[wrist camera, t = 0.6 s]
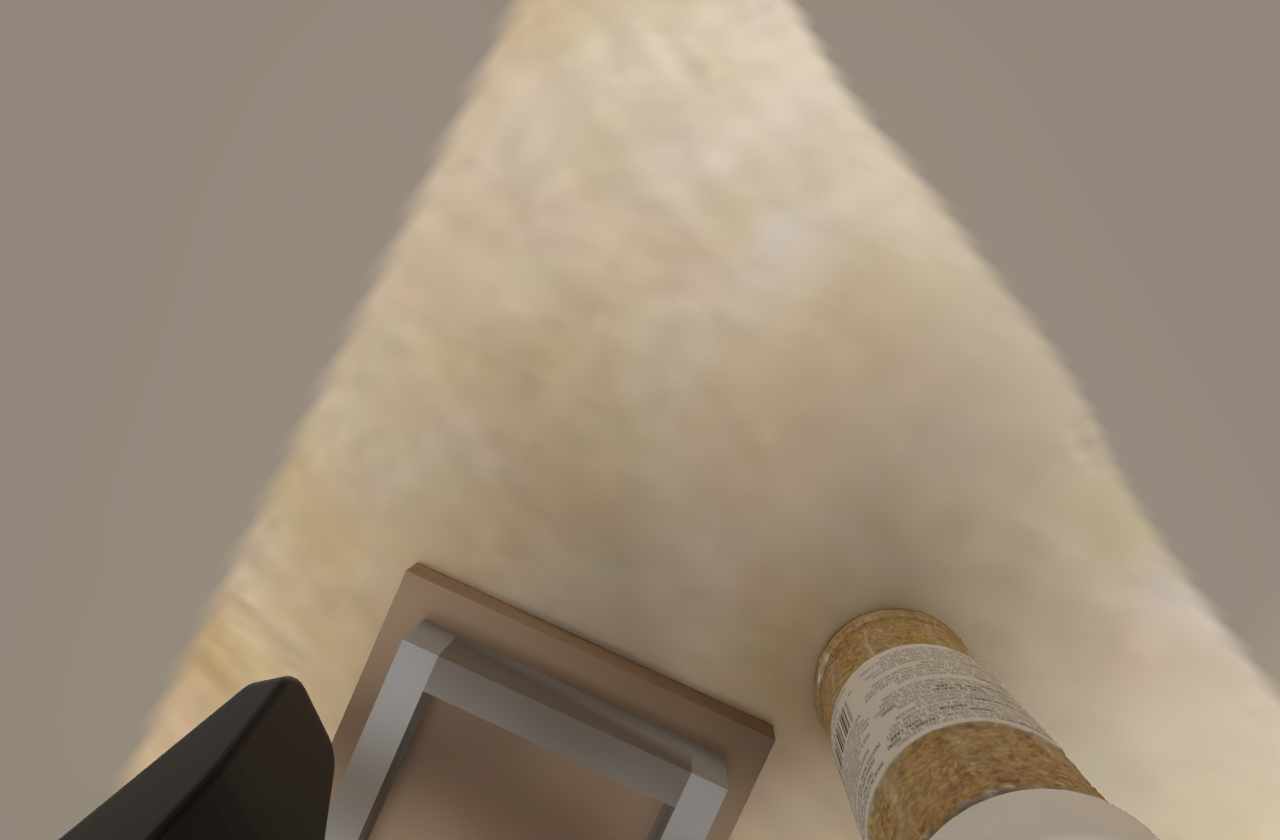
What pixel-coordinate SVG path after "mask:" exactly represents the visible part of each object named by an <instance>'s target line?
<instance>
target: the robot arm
mask: <svg viewBox="0 0 1280 840" xmlns="http://www.w3.org/2000/svg"><path fill="white" fill-rule="evenodd" d="M334 768H335V758H334V751H333V747H332V743H331V741H330V738H329V736H328V734H327V732H326V730H325V728H324V726H323V724H322V722H321V720H320V718H319V716H318V714H317V712H316V710H315V708H314V706H313V704H312V702H311V699H310V697H309V695H308V693H307V691H306V689H305V688H304V686H303V685H302V683H301V682H300V681H299V680H298V679H296V678H294V677H291V676H284V677H279V678H274V679H270V680H265V681H260V682H255V683H252V684H250V685H248V686H246V687H245V688H243V689H242V690H241V691H240V692H238V693H237V694H236V695H235V696H234V697H232V698H231V699H230V700H229V701H227V702H226V703H225V704H224V705H223V706H221V707H220V708H219V709H218V710H216V711H215V712H214V713H213V714H212V715H210V716H209V717H208V718H207V719H205V720H204V721H203V722H202V723H201V724H199V725H198V726H197V727H196V728H194V729H193V730H192V731H191V732H190V733H188V734H187V735H186V736H185V737H183V738H182V739H181V740H180V741H179V742H177V743H176V744H175V745H174V746H173V747H171V748H170V749H169V750H168V751H166V752H165V753H164V754H163V755H162V756H160V757H159V758H158V759H157V760H155V761H154V762H153V763H152V764H151V765H149V766H148V767H147V768H146V769H144V770H143V771H142V772H141V773H140V774H138V775H137V776H136V777H135V778H133V779H132V780H131V781H130V782H129V783H127V784H126V785H125V786H124V787H122V788H121V789H120V790H119V791H118V792H116V793H115V794H114V795H113V796H111V797H110V798H109V799H108V800H107V801H106V802H104V803H103V804H102V805H101V806H99V807H98V808H97V809H96V810H94V811H93V812H92V813H91V814H89V815H88V816H87V817H86V818H85V819H83V820H82V821H81V822H80V823H79V824H77V825H76V826H75V827H74V828H72V829H71V830H70V831H69V832H68V833H66V834H65V835H64V836H63V837H61V838H60V839H59V840H325V834H326V827H327V820H328V813H329V805H330V798H331V791H332V784H333V777H334Z"/></svg>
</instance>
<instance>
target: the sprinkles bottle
mask: <svg viewBox="0 0 1280 840" xmlns="http://www.w3.org/2000/svg"><path fill="white" fill-rule="evenodd" d="M814 682H815V691H814V700H815V706H816V709H817V711H818V715H819V718H820V721H821V724H822V726H823V728H824V729H825V731H826V733H827V734H828V736H829V737H830V738H831V744H832V750H833V754H834V757H835V760H836V764H837V767H838V770H839V772H840V775H841V778H842V781H843V784H844V787H845V790H846V793H847V796H848V799H849V802H850V806H851V809H852V812H853V814H854V817H855V820H856V823H857V826H858V828H859V831H860V834H861V837H862V839H863V840H1159V839H1158V838H1157V837H1156V836H1155V835H1154V834H1153V833H1152V832H1151V831H1150V830H1149V829H1148V828H1147V827H1145V826H1144V825H1143V824H1142V823H1141V822H1139V821H1138V820H1137V819H1136V818H1134V817H1133V816H1131V815H1130V814H1128V813H1127V812H1125V811H1123V810H1122V809H1120V808H1118V807H1116V806H1114V805H1112V804H1110V803H1109V802H1107V801H1106V800H1105V799H1104V797H1103V796H1102V795H1100V794H1099V793H1098V792H1097V790H1096V789H1095V788H1094V787H1092V786H1091V784H1090V783H1089V782H1088V781H1087V780H1086V779H1085V778H1084V777H1083V775H1082V774H1081V773H1080V772H1079V770H1078V769H1077V768H1076V766H1075V765H1074V764H1073V763H1072V762H1071V761H1070V760H1069V759H1068V758H1067V757H1066V755H1065V753H1064V752H1063V750H1062V749H1061V747H1060V746H1059V745H1058V744H1057V743H1056V742H1055V741H1054V740H1053V738H1052V737H1051V736H1050V735H1049V734H1048V733H1047V732H1046V731H1045V730H1044V729H1043V728H1042V727H1041V726H1040V724H1039V723H1038V722H1037V721H1036V720H1035V719H1034V718H1033V717H1032V715H1031V714H1030V713H1029V712H1028V711H1027V710H1026V709H1025V708H1024V707H1023V706H1022V705H1021V704H1020V703H1019V702H1018V701H1017V700H1016V699H1015V698H1014V697H1013V696H1012V695H1011V693H1010V692H1009V691H1008V690H1007V689H1006V688H1005V687H1004V686H1003V685H1002V684H1001V683H1000V682H999V681H998V680H997V679H996V678H995V677H994V676H993V675H992V674H991V673H990V672H989V671H988V670H987V669H986V668H985V667H984V666H982V665H981V664H980V663H978V662H977V661H976V660H974V658H973V656H972V655H971V653H970V652H969V650H968V649H967V647H966V646H965V644H964V643H963V641H962V640H961V639H960V638H959V637H958V636H957V635H956V634H955V633H954V632H953V631H952V630H950V629H949V628H948V627H946V626H945V625H943V624H941V623H940V622H939V621H937V620H935V619H933V618H931V617H930V616H928V615H926V614H924V613H920V612H912V611H907V610H902V609H895V610H879V611H875V612H872V613H869V614H866V615H862V616H859V617H858V618H856V619H855V620H853V621H852V622H850V623H848V624H847V625H845V626H844V627H843V628H842V629H841V630H840V631H839V632H838V633H837V634H836V635H835V636H834V637H833V638H832V639H831V640H830V642H829V644H828V645H827V647H826V648H825V649H824V651H823V653H822V655H821V657H820V659H819V661H818V665H817V672H816V675H815V680H814Z"/></svg>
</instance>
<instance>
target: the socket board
mask: <svg viewBox="0 0 1280 840" xmlns="http://www.w3.org/2000/svg"><path fill="white" fill-rule="evenodd" d="M774 742H775V736H774V731H773V726H771V725H769V724H767V723H765V722H763V721H761V720H758V719H756V718H754V717H752V716H750V715H747V714H745V713H743V712H741V711H739V710H737V709H734V708H732V707H730V706H728V705H726V704H724V703H721V702H719V701H717V700H715V699H713V698H710V697H708V696H706V695H704V694H702V693H700V692H697V691H695V690H693V689H691V688H689V687H686V686H684V685H682V684H680V683H678V682H676V681H673V680H671V679H669V678H667V677H665V676H662V675H660V674H658V673H656V672H654V671H652V670H649V669H647V668H645V667H643V666H641V665H639V664H636V663H634V662H632V661H630V660H628V659H625V658H623V657H621V656H619V655H617V654H615V653H612V652H610V651H608V650H606V649H604V648H601V647H599V646H597V645H595V644H593V643H591V642H588V641H586V640H584V639H582V638H580V637H577V636H575V635H573V634H571V633H569V632H567V631H564V630H562V629H560V628H558V627H556V626H554V625H551V624H549V623H547V622H545V621H543V620H540V619H538V618H536V617H534V616H532V615H530V614H527V613H525V612H523V611H521V610H519V609H516V608H514V607H512V606H510V605H508V604H506V603H503V602H501V601H499V600H497V599H495V598H492V597H490V596H488V595H486V594H484V593H482V592H479V591H477V590H475V589H473V588H471V587H469V586H466V585H464V584H462V583H460V582H458V581H455V580H453V579H451V578H449V577H447V576H445V575H442V574H440V573H438V572H436V571H434V570H431V569H429V568H427V567H425V566H423V565H421V564H418V563H416V564H415V565H413V566H412V567H411V568H409V569H408V570H406V572H405V575H404V577H403V579H402V582H401V584H400V586H399V589H398V591H397V593H396V596H395V598H394V600H393V603H392V605H391V607H390V610H389V612H388V614H387V616H386V619H385V621H384V623H383V626H382V628H381V630H380V633H379V635H378V637H377V640H376V642H375V644H374V647H373V649H372V651H371V654H370V656H369V658H368V661H367V663H366V665H365V667H364V670H363V672H362V674H361V677H360V679H359V681H358V684H357V686H356V688H355V691H354V693H353V695H352V698H351V700H350V702H349V705H348V707H347V709H346V712H345V714H344V716H343V719H342V721H341V723H340V725H339V728H338V730H337V732H336V735H335V737H334V739H333V742H332V747H333V751H334V758H335V768H334V777H333V784H332V791H331V798H330V805H329V813H328V820H327V827H326V834H325V840H728V839H729V837H730V835H731V833H732V831H733V828H734V826H735V824H736V822H737V820H738V818H739V816H740V814H741V812H742V809H743V807H744V805H745V803H746V801H747V799H748V797H749V795H750V792H751V790H752V788H753V786H754V784H755V782H756V780H757V778H758V775H759V773H760V771H761V769H762V767H763V765H764V763H765V761H766V759H767V756H768V754H769V752H770V750H771V748H772V746H773V744H774Z"/></svg>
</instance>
